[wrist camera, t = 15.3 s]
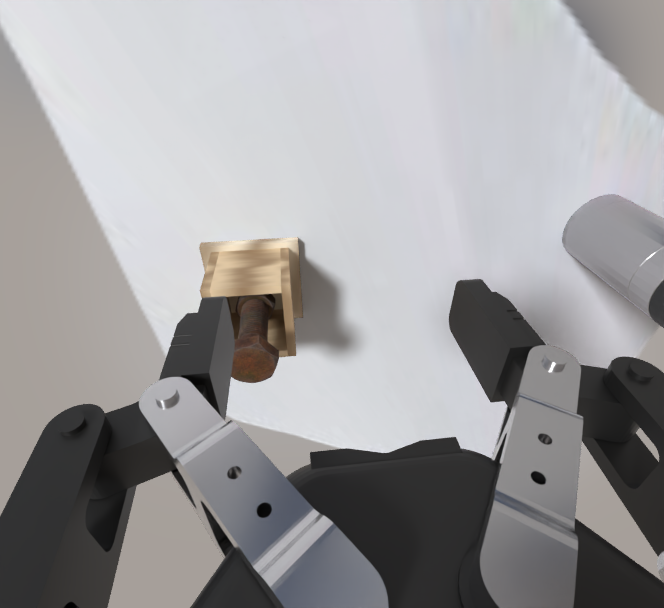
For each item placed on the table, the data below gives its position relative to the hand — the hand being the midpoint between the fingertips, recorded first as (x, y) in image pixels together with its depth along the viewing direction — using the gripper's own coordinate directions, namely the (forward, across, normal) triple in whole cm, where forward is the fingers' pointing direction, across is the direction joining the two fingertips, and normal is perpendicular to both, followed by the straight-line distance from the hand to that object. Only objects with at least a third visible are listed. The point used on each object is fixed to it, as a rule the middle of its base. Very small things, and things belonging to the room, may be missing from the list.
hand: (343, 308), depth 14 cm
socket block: (+34, +7, +20) cm, 40 cm away
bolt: (+33, +7, +20) cm, 39 cm away
